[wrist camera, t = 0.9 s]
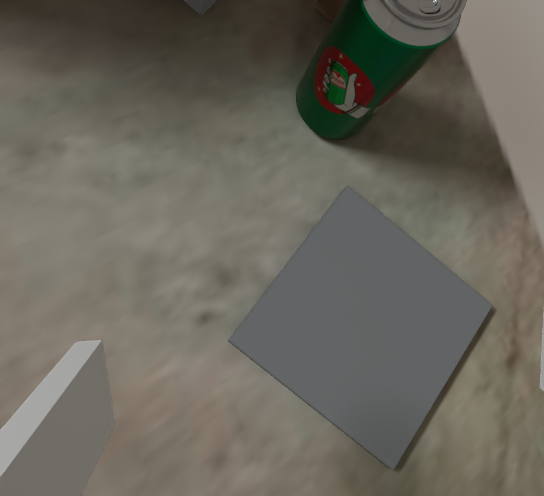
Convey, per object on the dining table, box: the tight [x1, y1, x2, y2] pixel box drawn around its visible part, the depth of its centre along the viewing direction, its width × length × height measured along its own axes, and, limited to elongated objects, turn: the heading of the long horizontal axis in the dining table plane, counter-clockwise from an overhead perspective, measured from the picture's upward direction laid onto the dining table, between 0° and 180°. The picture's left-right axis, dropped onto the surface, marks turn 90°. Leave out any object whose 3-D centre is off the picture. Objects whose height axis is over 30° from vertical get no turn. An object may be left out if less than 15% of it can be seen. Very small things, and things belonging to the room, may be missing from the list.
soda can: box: [296, 0, 467, 139], centre depth 27 cm, size 5×5×12 cm
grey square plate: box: [228, 185, 492, 470], centre depth 30 cm, size 12×12×1 cm
